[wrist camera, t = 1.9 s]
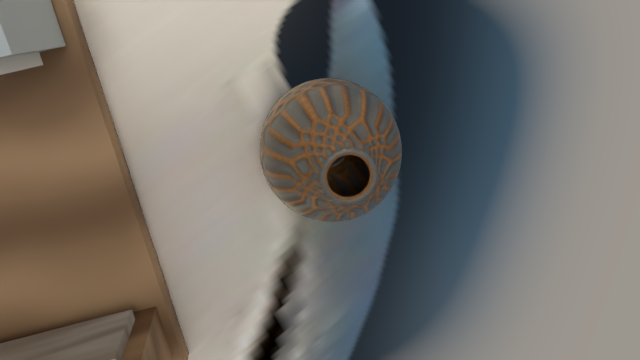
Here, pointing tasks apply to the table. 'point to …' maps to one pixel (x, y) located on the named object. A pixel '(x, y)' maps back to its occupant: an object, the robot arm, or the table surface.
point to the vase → (330, 149)
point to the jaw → (27, 33)
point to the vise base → (73, 221)
